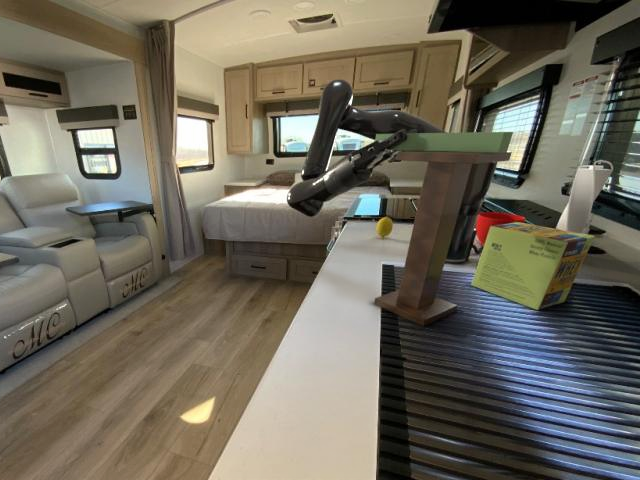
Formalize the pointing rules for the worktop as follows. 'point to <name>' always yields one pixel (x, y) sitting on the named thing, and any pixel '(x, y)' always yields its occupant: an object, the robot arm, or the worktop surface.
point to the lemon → (384, 227)
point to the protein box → (530, 263)
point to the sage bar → (454, 142)
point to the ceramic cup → (493, 223)
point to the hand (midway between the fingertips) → (410, 133)
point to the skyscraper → (583, 197)
